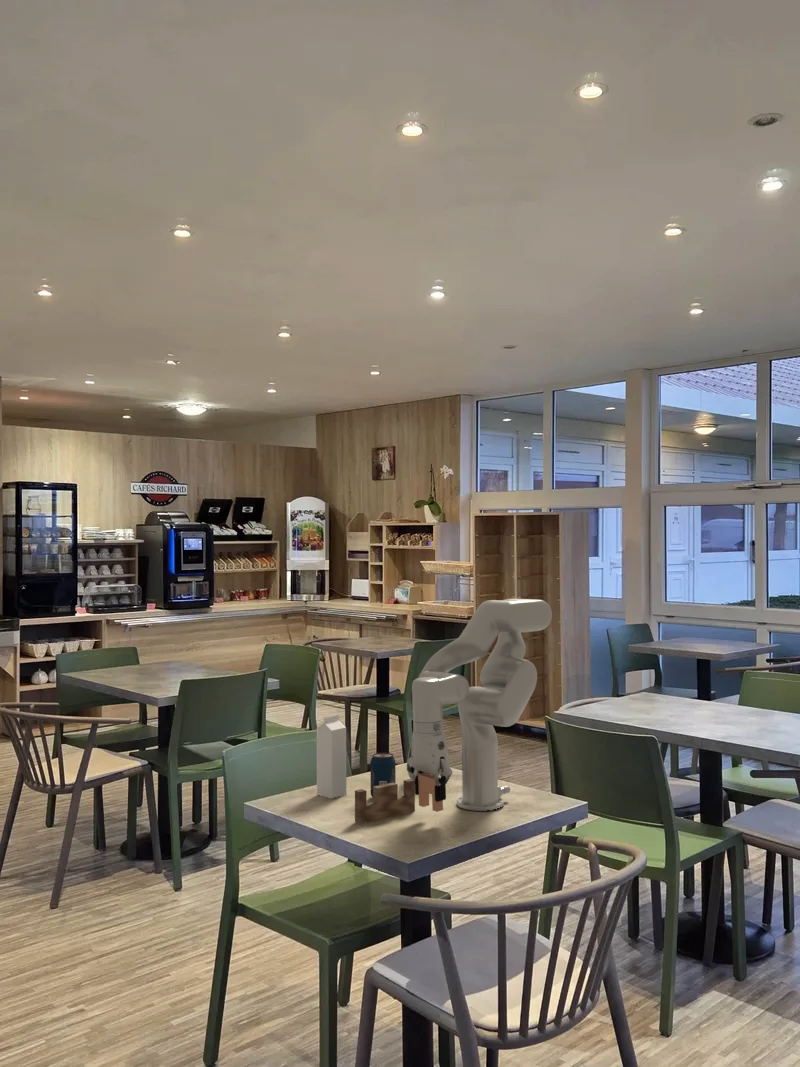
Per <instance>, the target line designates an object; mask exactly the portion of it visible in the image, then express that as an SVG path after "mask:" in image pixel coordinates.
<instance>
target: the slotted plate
mask: <svg viewBox="0 0 800 1067" xmlns="http://www.w3.org/2000/svg"><path fill="white" fill-rule="evenodd" d="M440 778H441V776H440V777H439V780H440ZM435 785H436V782H435V779H434V776H433V775H430V774H426V773H421V774H418V786H419V795H418V806H419V807H421V808H425V807H429V806H430V795H431V801H432V802H431V805H432V811H434V812H441V811H443V810H444V803H443V802H444V800H442V801H439V802H436V801H435Z"/></svg>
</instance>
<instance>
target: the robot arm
mask: <svg viewBox="0 0 800 1067" xmlns="http://www.w3.org/2000/svg"><path fill="white" fill-rule="evenodd" d="M552 612H553V611H552V608H551V606H550V604H549V603H548V602H546V601H545V600H543V599H535V598H533V599H531V598H528V599H527V598H506V599H502V600H500V599H499V600H498V599H497V600H496V599H490V600H484V601H483V602H481V604H479V606H477V609H476V611H475V612H474V614H472V617H471V618H470V619H469V621H468V622H467V624H466V626H465V628H464V629H463V630H462V632H461V634H460V635H459V637H458V638H456V639H454V640H452V641H451V642H449V643H448V644H446V645H445V646H443V647H442V648H441V649H438V651H436V652H435V653H434V654H433V655H432V656H431V657H430V658H428V661H427V662H426V663H425V665H424V667H422V668H423V669H422V670H421V671H420V673H419V675H418V677H417V678H415V679H414V680H413V681H412V684H411V692H412V699H411V700H412V722H413V723H412V725H413V726H412V727H413V728H412V729H413V731H412V736H411V743H412V747H411V757H410V758H409V759H408V758H407V759H408V764H409V766H410V768H411V771H412V773H413V778H414V779H415V796H419V786H418V774H421V773H429V774H432V775H433V776H434V779H435V782H436V785H435V801H436V802H439V801H442V800H443V801H446V799H447V788H446V787H447V786H446V785H447V784H448V781H449V780H450V778H451V777H452V774H453V770H452V768H451V767H450V753H449V746H448V741H447V736H446V732H445V733H444V716H443V714H444V713H443V706H444V705H448V704H449V705H452V704H457V706H458V707H457V708H458V714H459V719H460V725H461V742H462V743H461V746H462V747H461V750H462V751H461V755H462V756H461V760H462V762H461V767H462V769H461V770H462V771H461V773H462V776H461V777H462V778H461V779H462V780H461V782H462V786H461V787H462V788H461V789H462V796H459V797H458V798H457V799H456V806H458V807H459V808H461V809H464V810H468V811H472V812H473V811H475V812H488V811H487V810H490V811H494V810H493V809H496V810H498V809H497V808H499V809H501V808H500V807H502V806H503V807H504V803H505V801H504V799H502V795H506V794H509V793H510V792H511V788H510V786H509V785H504V786H500V785H498V784H499V783H498V782H499V779H498V774H499V773H498V770H499V768H498V767H499V766H498V765H499V764H498V763H499V761H498V760H499V758H498V756H499V754H498V747H499V746H498V737H497V736H498V735H497V732H496V730H495V728H494V726H496V727H501V728H503V727H505V728H507V727H511V726H513V725H515V724H516V723H517V722H518V720H519V719H520V717H521V715H522V714H523V712H524V710H525V708H526V706H527V704H528V703H529V701H530V698H531V697H532V695H533V694H534V691H535V689H536V687H537V682H538V672H537V671H538V670H537V668H536V666H535V665H534V663H533V662H532V661H530V660H528V659H524V657H525V655H526V650H527V647H526V642H525V641H524V638H523V636H522V633H531V632H539V631H542V630H543V631H544V630H545V629H547V628H548V626H550V624H551V622H552V618H553V613H552ZM496 639H497V641H496ZM495 641H496V644H495V645H494V647H493V648H492V645H493V644H494V642H495ZM491 648H492V651H491V652H490V654H489V656H488V658H487V660H486V661H485V663H484V665H483V666H482V668H481V671H480V673H479V681H480V683H481V685H482V686H470V684H469V681H468V680H467V679H466V677H465V676H463V675H461V674H457V673H452V672H451V671H452V670H453V669H456V668H457V667H460V666H462V665H466V664H469V663H473V662H476V661H479V660H481V659H482V658H484V657H486V655H487V654H488V652H489V650H490V649H491ZM450 672H451V673H450ZM438 770H439V771H440V772H438ZM438 775H439V776H440V780H439V777H438ZM503 807H502V808H503Z"/></svg>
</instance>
